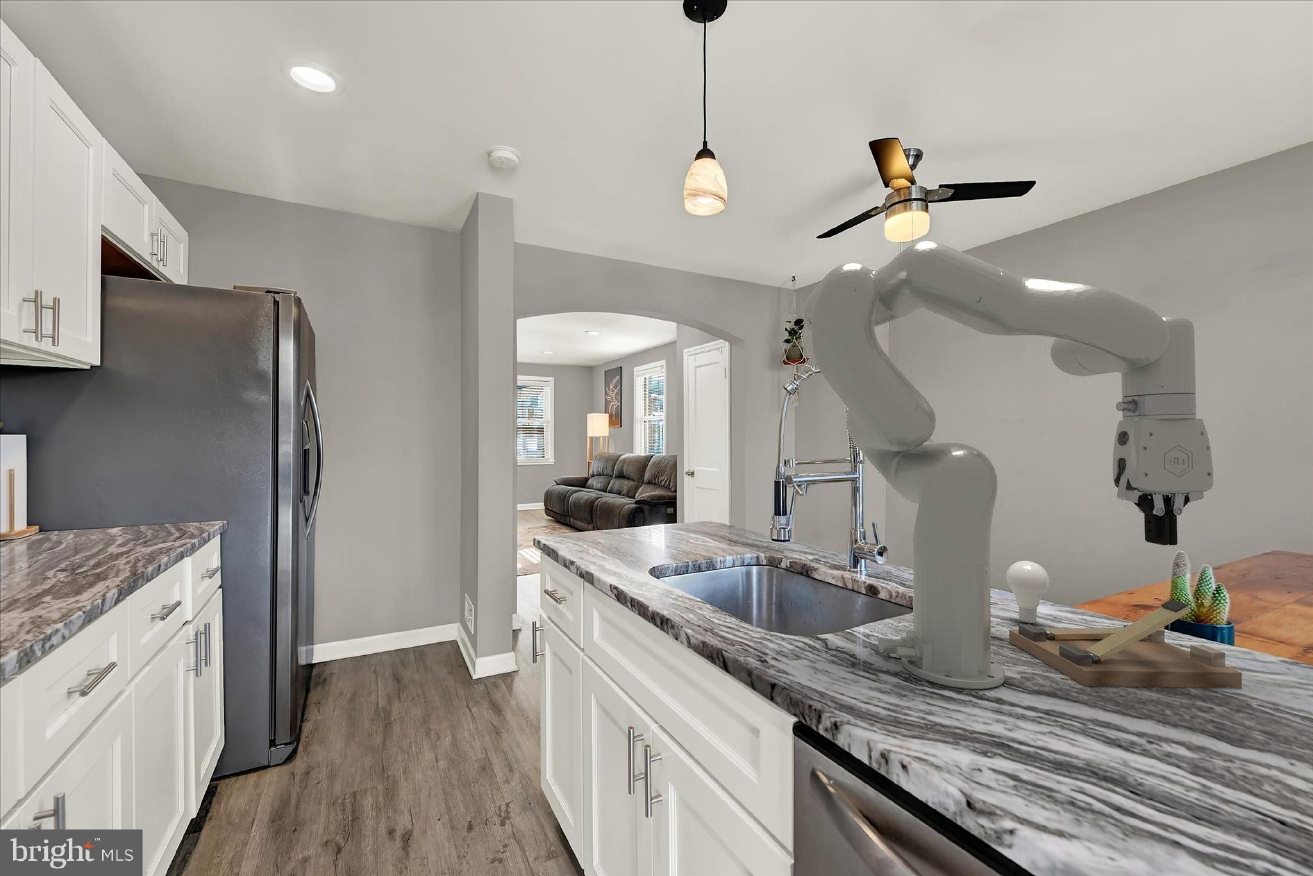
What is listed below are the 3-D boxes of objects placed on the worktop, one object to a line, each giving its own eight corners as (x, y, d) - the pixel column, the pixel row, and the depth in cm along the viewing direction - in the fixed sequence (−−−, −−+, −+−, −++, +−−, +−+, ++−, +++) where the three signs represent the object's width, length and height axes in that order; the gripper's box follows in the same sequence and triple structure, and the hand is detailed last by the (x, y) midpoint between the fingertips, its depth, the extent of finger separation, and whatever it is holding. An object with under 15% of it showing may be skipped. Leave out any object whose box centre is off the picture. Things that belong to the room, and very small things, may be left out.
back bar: (1048, 639, 83) (1048, 632, 83) (1037, 634, 86) (1037, 627, 86) (1147, 637, 83) (1147, 630, 83) (1134, 632, 85) (1134, 625, 85)
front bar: (1095, 665, 74) (1090, 658, 74) (1081, 658, 77) (1077, 651, 77) (1191, 611, 74) (1187, 604, 74) (1174, 606, 76) (1170, 599, 76)
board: (1085, 686, 72) (1084, 656, 72) (1009, 642, 88) (1009, 618, 88) (1241, 688, 71) (1241, 658, 72) (1137, 643, 87) (1136, 619, 88)
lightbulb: (1058, 629, 94) (1058, 565, 94) (1021, 629, 94) (1020, 564, 94) (1033, 618, 100) (1033, 557, 100) (998, 617, 100) (998, 557, 101)
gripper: (1125, 408, 72) (1128, 549, 72) (1242, 407, 72) (1245, 548, 72) (1082, 411, 80) (1084, 539, 79) (1187, 410, 79) (1190, 538, 79)
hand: (1160, 543), depth 75 cm, fingers closed
